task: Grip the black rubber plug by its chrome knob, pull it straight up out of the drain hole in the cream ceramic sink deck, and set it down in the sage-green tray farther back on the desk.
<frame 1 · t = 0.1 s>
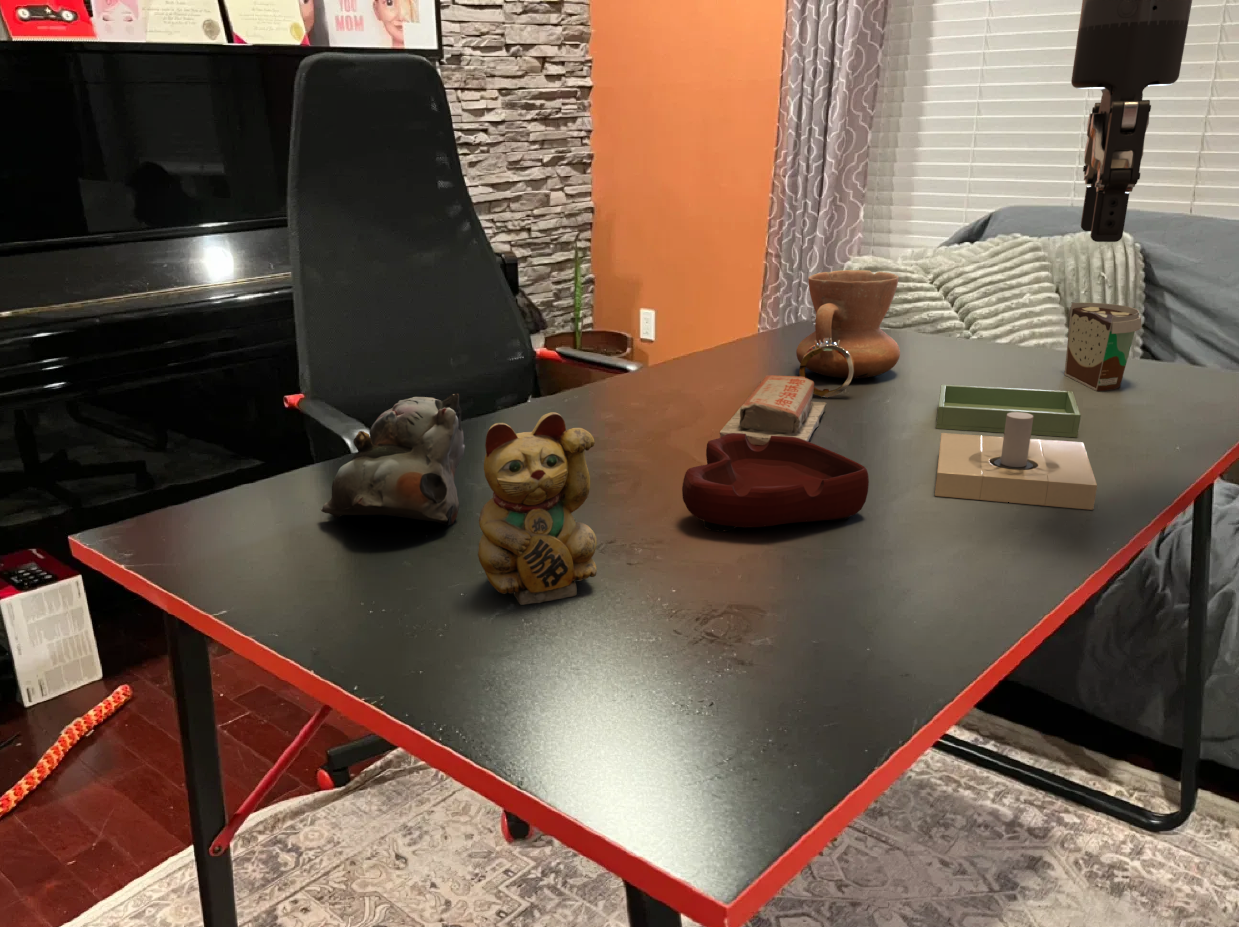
hand: (1099, 235, 84), 25 cm above the table, tool pointing down, fingers open, 8 cm apart
ring: (825, 398, 136), on the table
food container: (1102, 383, 139), on the table
lucky cat figurine: (399, 518, 100), on the table
decorative figurine: (535, 588, 84), on the table
tray: (1003, 420, 123), on the table
ceramic jug: (844, 375, 148), on the table
ashtray: (777, 511, 98), on the table
packaged product: (774, 429, 124), on the table
plug: (1010, 486, 102), resting in sink deck
sink deck: (1009, 480, 103), on the table
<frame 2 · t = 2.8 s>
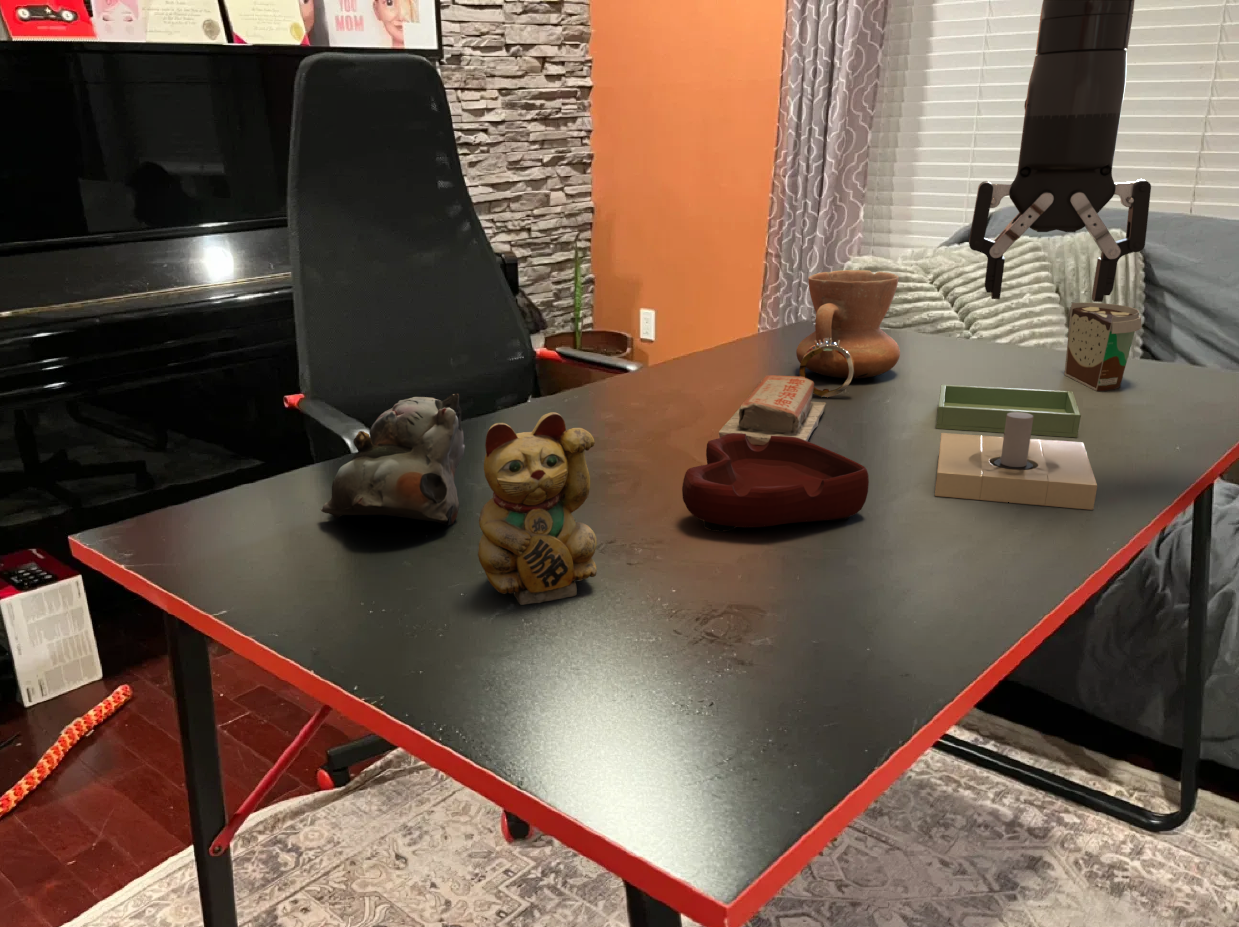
hand: (1045, 299, 93), 19 cm above the table, tool pointing down, fingers open, 8 cm apart
nothing on the table moved.
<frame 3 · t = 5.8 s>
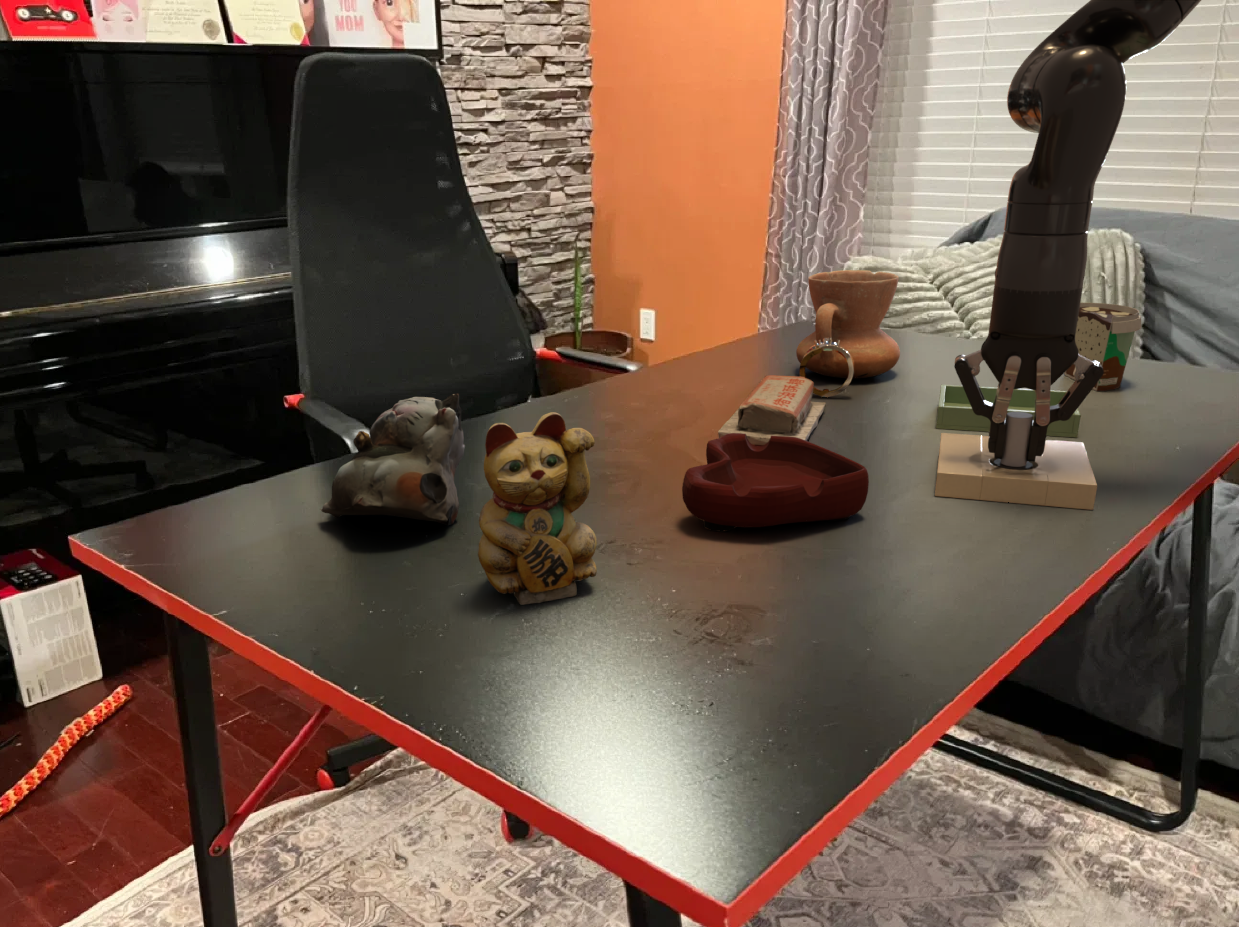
hand: (1014, 457, 101), 3 cm above the table, tool pointing down, fingers closed on plug, 2 cm apart
plug: (1010, 485, 102), resting in sink deck, touching gripper
everything else where it was.
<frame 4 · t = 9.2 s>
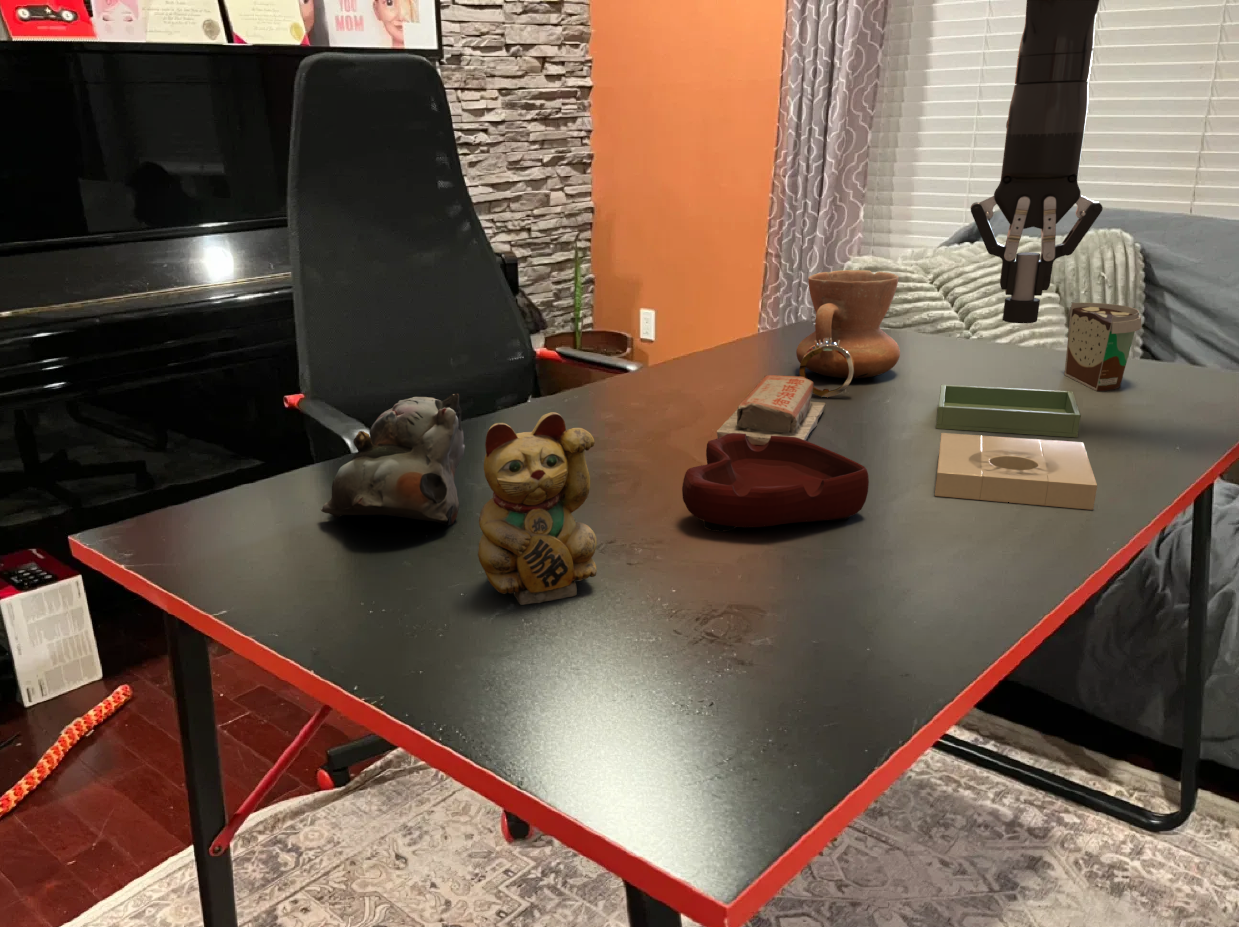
hand: (1023, 293, 114), 16 cm above the table, tool pointing down, fingers closed on plug, 2 cm apart
plug: (1019, 320, 115), point 13 cm above the table, touching gripper
everything else where it was.
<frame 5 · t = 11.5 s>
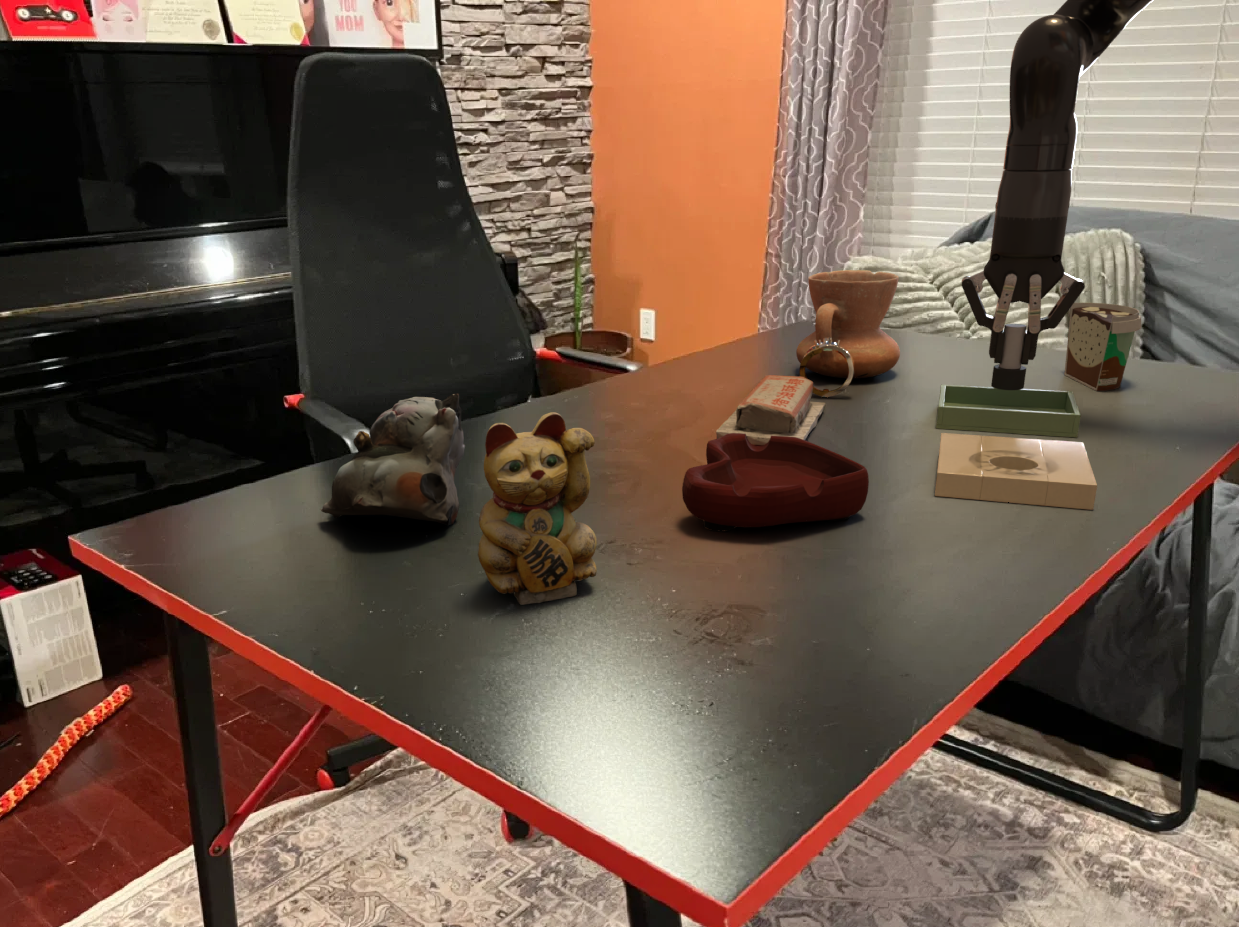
hand: (1011, 362, 121), 7 cm above the table, tool pointing down, fingers closed on plug, 2 cm apart
plug: (1007, 386, 122), point 4 cm above the table, touching gripper
everything else where it was.
when the fingers open (4 cm above the table, at t = 12.8 s): plug stays where it is, resting on tray.
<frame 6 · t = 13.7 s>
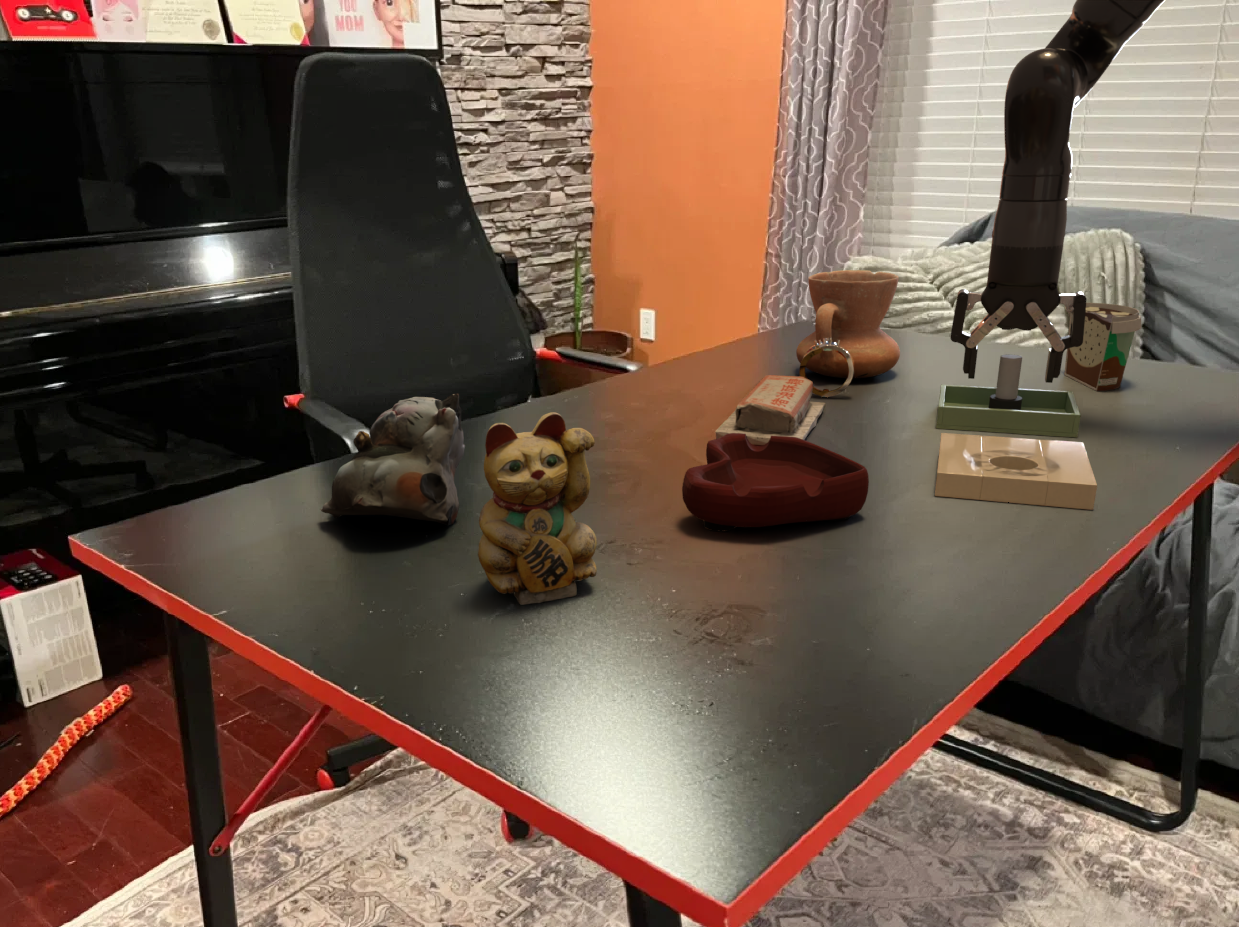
hand: (1009, 379, 122), 5 cm above the table, tool pointing down, fingers open, 8 cm apart
plug: (1003, 416, 123), resting on tray
everything else where it was.
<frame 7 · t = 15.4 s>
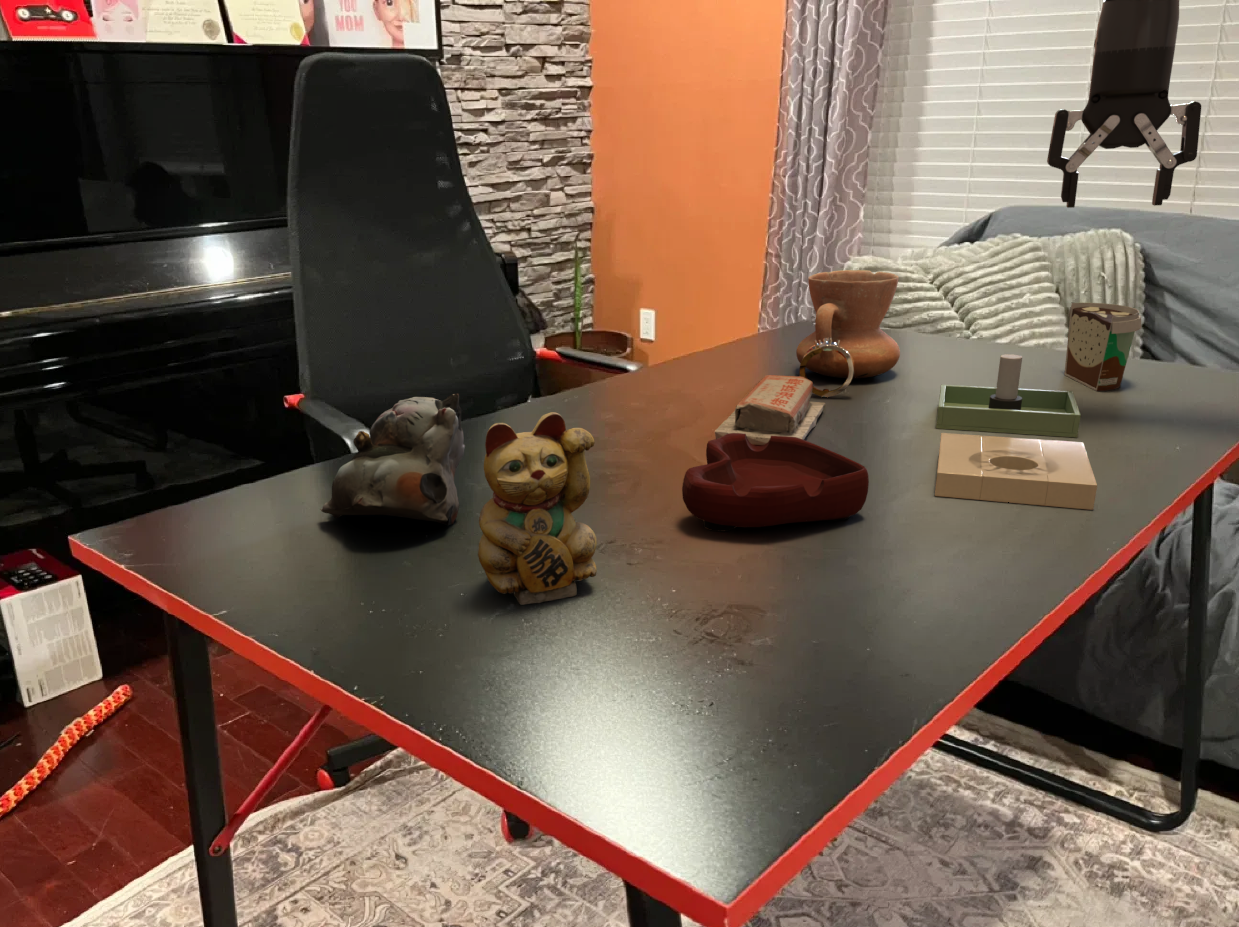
hand: (1113, 206, 113), 25 cm above the table, tool pointing down, fingers open, 8 cm apart
nothing on the table moved.
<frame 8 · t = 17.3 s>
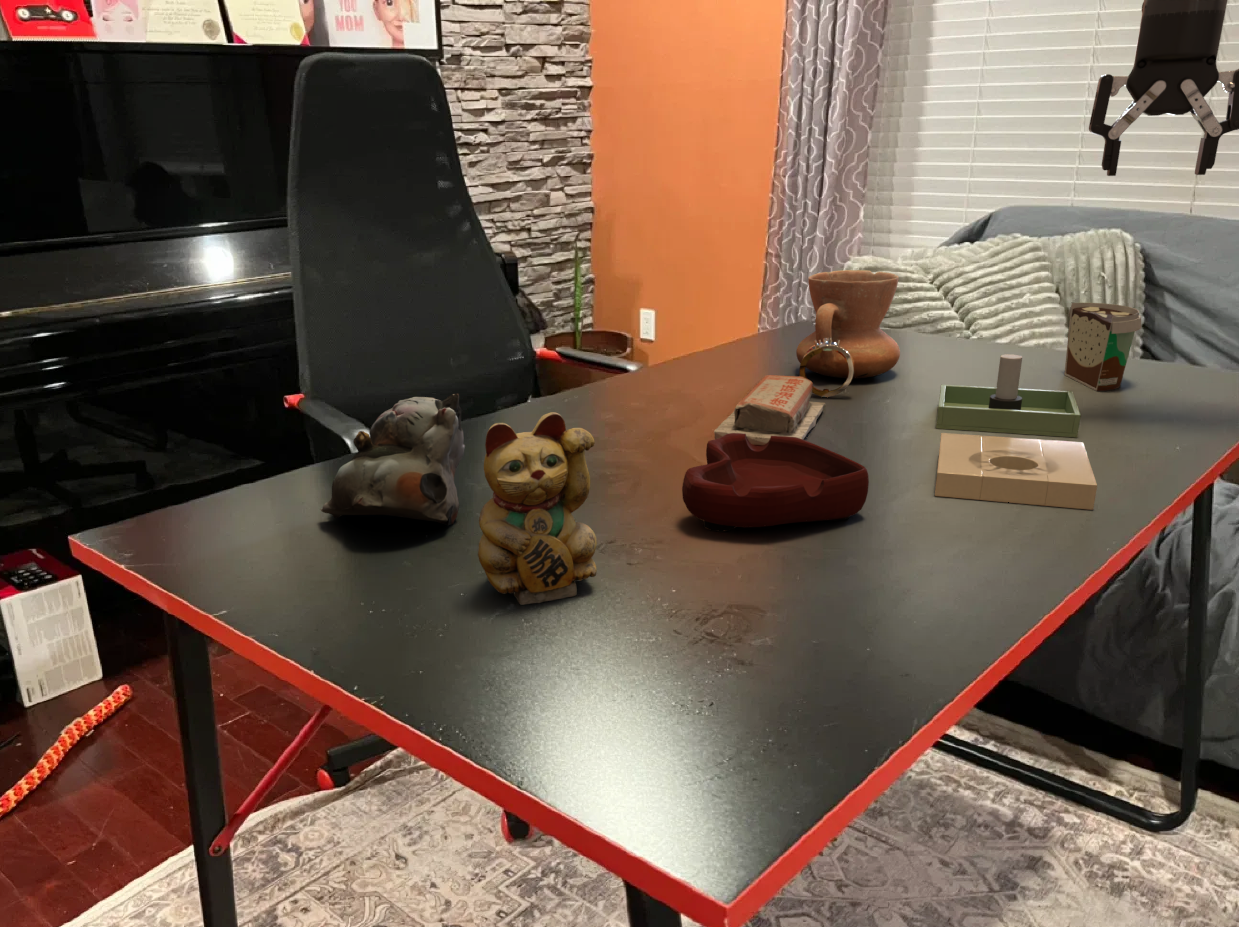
hand: (1155, 175, 111), 28 cm above the table, tool pointing down, fingers open, 8 cm apart
nothing on the table moved.
at the end: plug inside the target area in the tray (0.1 cm from its centre), point 0.5 cm above the tray's base; plug moved 24.9 cm from its start; the gripper is holding nothing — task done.
